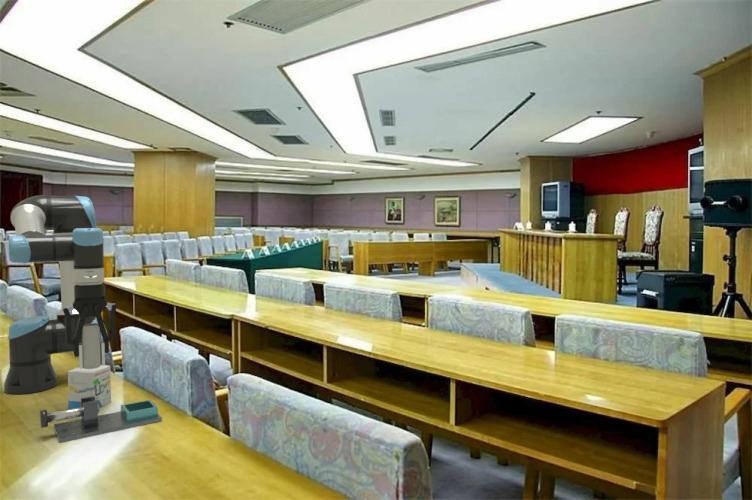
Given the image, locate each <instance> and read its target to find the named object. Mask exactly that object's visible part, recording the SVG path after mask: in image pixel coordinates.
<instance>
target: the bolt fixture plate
mask: <svg viewBox="0 0 752 500" xmlns="http://www.w3.org/2000/svg"><path fill="white" fill-rule="evenodd" d="M81 407H83V415H84V416H81V417H80V418H79V419H76V420H75V419H74V420H70V421H69V420H68V421H64V422H59V423H55V424H53V430H54V432H55V435H56V439H57V441H58V443H66V442H70V441H74V440H79V439H83V438H89V437H93V436H98V435H102V434H107V433H111V432H116V431H121V429H122V430H126V428H127V429H131V427H132V428H136V427H141V426H145V425H150V424H155V423H158V422H159V423H160V422H162V421H163V420H162V419H163V418H162V416H161V415H160V414H159V407H158V406H157V405H156V404H155V403H154V402H153V401H152V400H151V399H145V400H141V401H136V402H130V403H123V404H120V411H117V412H116V411H115V412H111V413H106V414H101V415H99V413H98V401H97V400H95V396H91V397H85V398H81Z"/></svg>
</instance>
